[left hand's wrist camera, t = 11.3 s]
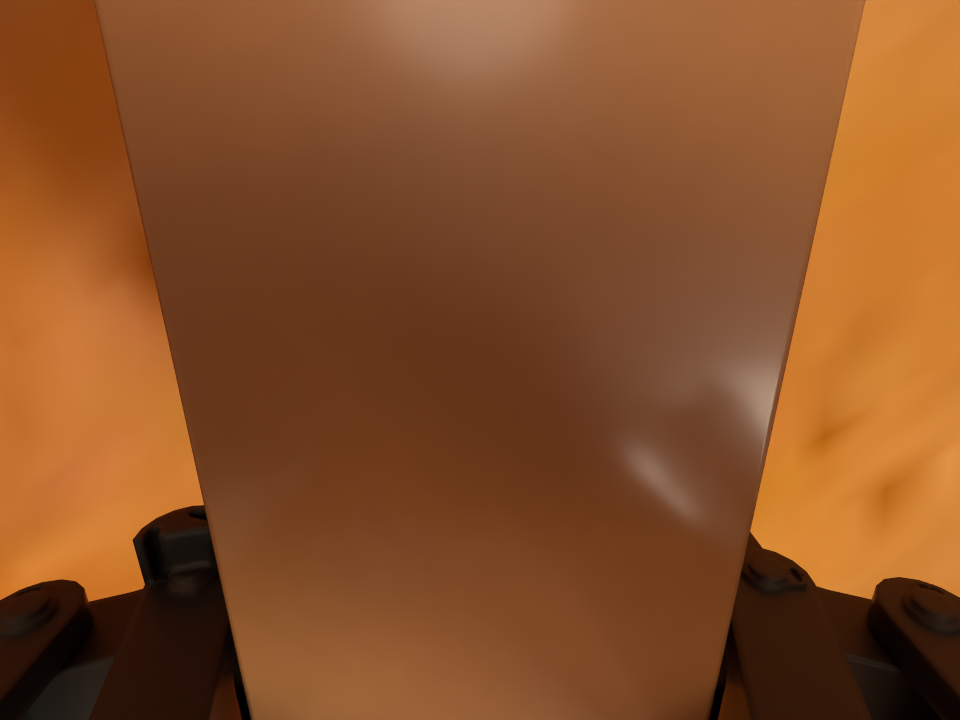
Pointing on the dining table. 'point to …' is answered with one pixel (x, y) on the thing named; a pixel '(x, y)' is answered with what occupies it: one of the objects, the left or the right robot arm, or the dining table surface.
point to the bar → (479, 329)
